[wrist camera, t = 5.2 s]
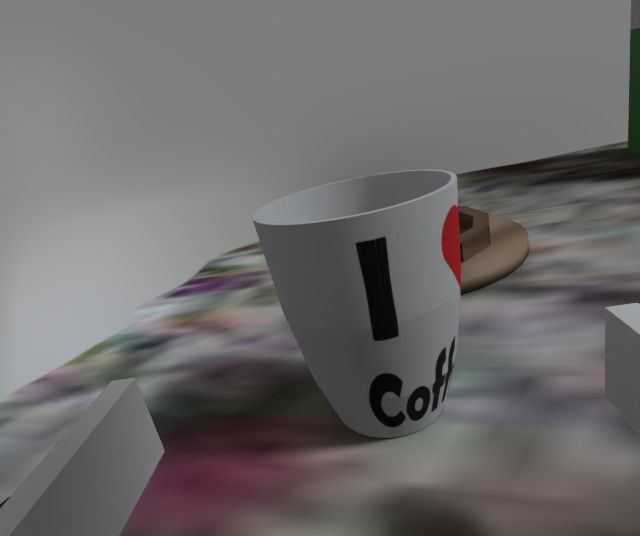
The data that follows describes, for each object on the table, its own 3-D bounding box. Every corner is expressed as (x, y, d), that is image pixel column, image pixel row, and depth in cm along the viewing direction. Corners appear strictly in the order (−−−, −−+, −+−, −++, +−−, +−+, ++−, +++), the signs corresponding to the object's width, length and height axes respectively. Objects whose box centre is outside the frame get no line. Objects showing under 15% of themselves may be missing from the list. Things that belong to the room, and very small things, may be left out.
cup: (386, 502, 16) (331, 234, 12) (274, 407, 22) (220, 215, 19) (518, 391, 20) (502, 166, 16) (390, 338, 26) (361, 170, 23)
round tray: (572, 227, 37) (572, 198, 36) (430, 333, 26) (424, 294, 25) (391, 218, 52) (387, 197, 51) (251, 282, 41) (244, 257, 40)
